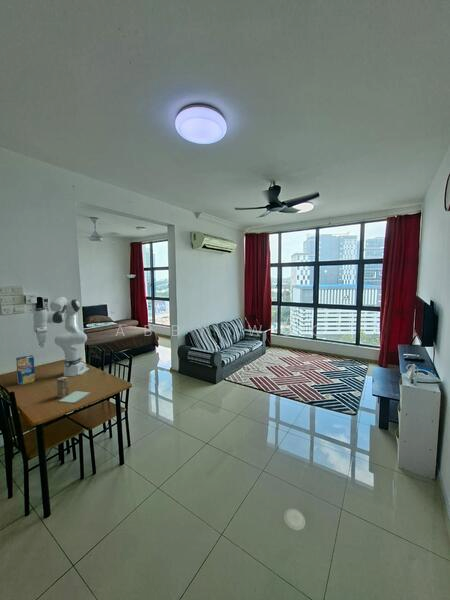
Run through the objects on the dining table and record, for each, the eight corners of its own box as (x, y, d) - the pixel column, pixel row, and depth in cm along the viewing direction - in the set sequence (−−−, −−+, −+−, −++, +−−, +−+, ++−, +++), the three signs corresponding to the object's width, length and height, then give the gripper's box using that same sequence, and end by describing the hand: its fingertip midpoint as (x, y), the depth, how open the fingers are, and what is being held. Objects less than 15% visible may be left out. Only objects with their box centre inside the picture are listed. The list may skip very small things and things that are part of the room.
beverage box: (35, 381, 210) (33, 356, 209) (18, 385, 202) (17, 359, 201) (33, 379, 215) (32, 355, 213) (17, 382, 207) (16, 357, 205)
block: (62, 394, 188) (62, 376, 187) (68, 394, 187) (67, 377, 186) (57, 397, 183) (56, 379, 182) (63, 397, 182) (62, 379, 181)
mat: (75, 391, 193) (75, 390, 192) (90, 393, 190) (90, 392, 190) (58, 401, 177) (58, 400, 177) (75, 403, 175) (75, 402, 175)
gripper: (34, 327, 194) (34, 344, 195) (37, 331, 179) (37, 349, 180) (43, 326, 198) (44, 343, 199) (47, 330, 184) (48, 348, 184)
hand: (41, 346), depth 189 cm, fingers open, 8 cm apart
